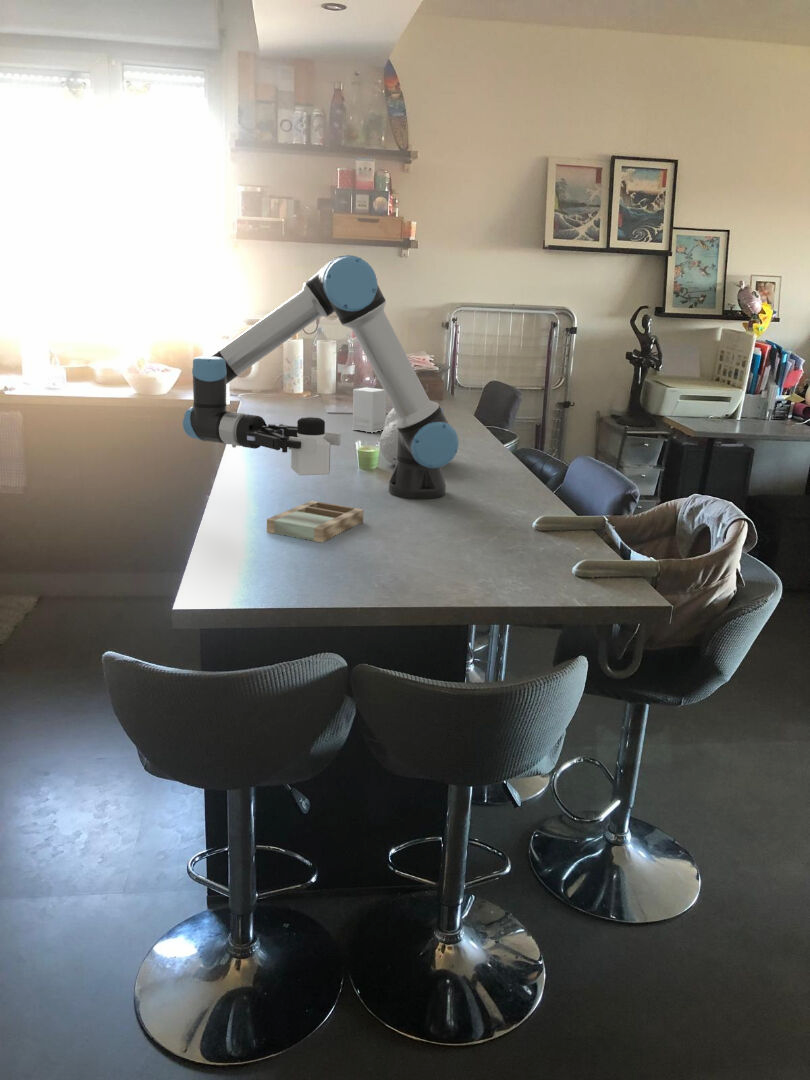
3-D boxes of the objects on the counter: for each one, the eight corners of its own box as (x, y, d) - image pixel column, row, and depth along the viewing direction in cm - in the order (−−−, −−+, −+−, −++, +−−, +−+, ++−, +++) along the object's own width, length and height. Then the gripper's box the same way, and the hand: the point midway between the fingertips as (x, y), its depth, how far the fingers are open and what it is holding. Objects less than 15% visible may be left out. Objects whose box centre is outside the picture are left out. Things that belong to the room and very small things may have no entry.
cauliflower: (370, 447, 250) (405, 380, 252) (364, 459, 275) (395, 399, 277) (433, 480, 252) (467, 414, 254) (421, 489, 277) (452, 429, 279)
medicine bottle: (329, 474, 192) (331, 420, 189) (298, 475, 190) (299, 421, 186) (321, 467, 199) (322, 415, 195) (290, 468, 196) (291, 415, 192)
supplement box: (386, 430, 317) (387, 389, 312) (372, 433, 309) (373, 391, 305) (365, 427, 321) (366, 386, 317) (351, 430, 314) (352, 388, 309)
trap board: (311, 512, 208) (311, 500, 207) (363, 521, 202) (363, 509, 201) (266, 532, 191) (266, 519, 190) (321, 542, 186) (322, 529, 185)
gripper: (271, 439, 210) (352, 451, 201) (213, 454, 191) (299, 468, 182) (272, 408, 208) (353, 419, 199) (213, 420, 188) (300, 433, 179)
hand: (327, 443), depth 190 cm, fingers closed on medicine bottle, 10 cm apart
